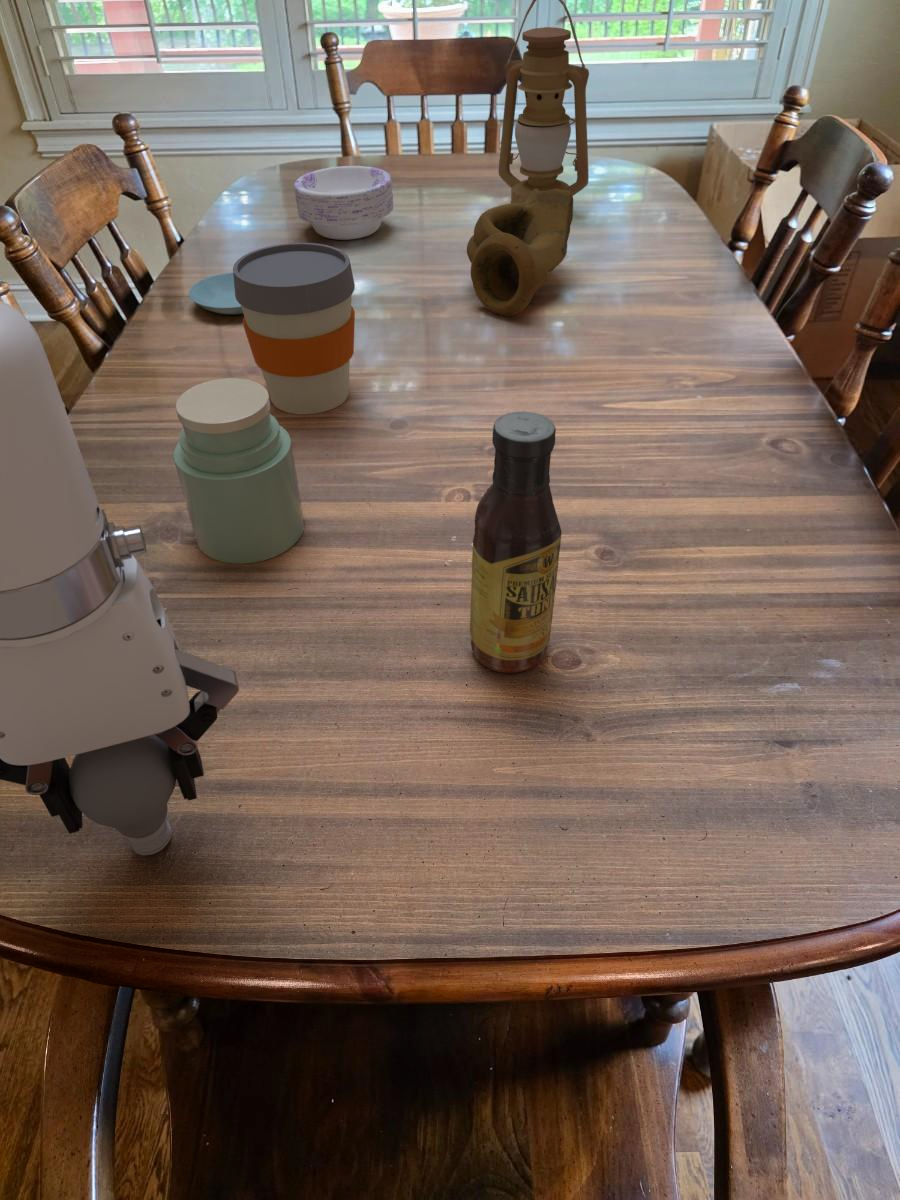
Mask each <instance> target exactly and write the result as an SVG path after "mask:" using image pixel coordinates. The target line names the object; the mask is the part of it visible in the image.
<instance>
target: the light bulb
mask: <svg viewBox="0 0 900 1200" xmlns="http://www.w3.org/2000/svg"><path fill="white" fill-rule="evenodd" d="M176 783H177V779H176V776H175V774H174V771H173V768H172V766H171V762H170V755H169V747H168V745H167V744H165V743H164V742H163V741H162V740H160V739H159V738H158V737H157V736H156V735H154V734H153V735H149V736H145V737H142V738H138V739H135V740H131V741H127V742H123V743H119V744H116V745H112V746H108V747H104V748H100V749H96V750H92V751H89V752H85V753H81V754H77V755H74V758H73V759H72V762H71V766H70V771H69V789H70V794H71V796H72V798H73V800H74V802H75V804H76V806H77V807H78V808H79V810H80V811H81V812H82V815H84V816H85V817H86V818H87V819H89V820H91V821H92V822H94V823H96V824H98V825H100V826H103V827H104V826H105V827H109V828H112V829H115V830H117V832H118V833H119V834H120V835H123V836H124V837H126V839H127V841H128V843H129V845H130V847H131V849H132V850H133V852H134V853H136V854H138V855H141V856H151V855H154V854H157V853H159V852H160V851H162V850H163V849H164V848H165V847H167V845H168V844H169V842H170V840H171V839H172V838H171V837H172V828H171V825H170V823H169V821H168V818H167V815H168V803H169V802H170V799H171V797H172V794H173V793H174V790H175V788H176Z"/></svg>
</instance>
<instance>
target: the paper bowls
mask: <svg viewBox="0 0 900 1200" xmlns="http://www.w3.org/2000/svg"><path fill="white" fill-rule="evenodd" d="M293 189H294V197H295V205H296V209H297V213H298V217H299V219H301V220H302V221H304V222H305V223H308V224H311V226H312V228H313V229H314V231H315V233H317V234H318V235H319V236H321V237H323V238H327V239H330V240H340V241H349V240H358V239H363V238H365V237H369V236H371V235H373V234H374V233H376V232H377V231H378V230H379V229H380V227H381V225H382V222H383V218H385V217H387V216H389V215H390V214H391V213H392V212H393V210H394V194H393V179H392V177H391V175H390V173H388V172H387V171H385V170H383V169H381V168H378V167H373V166H365V165H341V166H340V165H339V166H332V167H326V168H321V169H317V170H312V171H310V172H306V173H304V174H303V175H301V176H299V177H298V178H297V179H296V180H295V182H294V183H293Z"/></svg>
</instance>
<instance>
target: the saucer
mask: <svg viewBox="0 0 900 1200" xmlns="http://www.w3.org/2000/svg"><path fill="white" fill-rule="evenodd" d="M188 297H189V298H190V300H191V301H193V303H195V304H196V305H198V306H199V307H201V308H203V309H205V310H207V311H210V312H212V313H216V314H219V315H228V316H235V315H236V316H237V315H244V313H243V310H242V307H241V305H240V304H239V303H238V301H237V300H236V297H235V288H234V276H233V272H227V273H220V274H216V275H212V276H209V277H206V278H203V279H201V280H199V281H197V282H196V283H195V284H193V285H192V286H191V287H190V289H189V291H188Z"/></svg>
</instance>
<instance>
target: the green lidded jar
mask: <svg viewBox="0 0 900 1200" xmlns="http://www.w3.org/2000/svg"><path fill="white" fill-rule="evenodd" d="M271 406H272V405H271V398H270V395H269V392H268V389H267V387H265V386H264V385H262V383H259V382H257V381H254V380H251V379H247V378H241V377H227V378H225V377H224V378H218V379H211V380H207V381H204V382H202V383H198V384H196V385H194V386H192V387H190V388H188V389H187V390H185V391H183V393H181V394H180V395H179V397H178V398H177V400H176V402H175V410H176V415H177V419H178V421H179V423H180V424H181V425H182V428H181V430H180V432H179V435H178V442H177V443H176V445H175V447H174V449H173V461H174V466H175V469H176V473H177V476H178V480H179V484H180V487H181V492H182V494H183V495H182V496H183V499H184V502H185V506H186V510H187V513H188V517H189V520H190V524H191V528H192V532H193V535H194V539H195V542H196V545H197V547H198V549H199V550H200V551H201V552H202V553H203V554H204V555H205V556H207V557H209V558H211V559H213V560H214V561H217V562H221V563H226V564H236V565H245V564H246V565H247V564H255V563H259V562H263V561H267V560H270V559H272V558H275V557H277V556H280V555H281V554H283V553H285V552H287V551H288V550H289V549H291V548H292V547H294V546H295V544H296V543H297V542H299V540H300V539H301V537H302V535H303V532H304V530H305V517H304V512H303V506H302V500H301V494H300V488H299V480H298V475H297V470H296V469H297V468H296V463H295V457H294V451H293V444H292V439H291V435H290V433H289V431H287V430H286V429H285V428H284V427H283V426H281V425H280V424H279V422H278V419H277V418H276V417H275V416H274V415H273V414H271V412H270V410H271Z"/></svg>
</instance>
